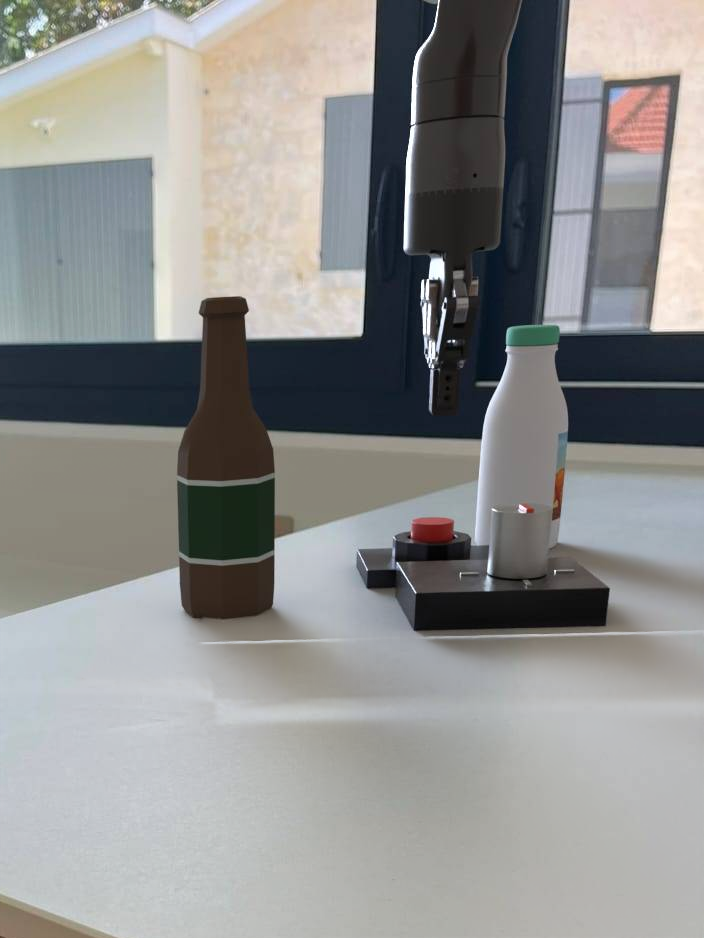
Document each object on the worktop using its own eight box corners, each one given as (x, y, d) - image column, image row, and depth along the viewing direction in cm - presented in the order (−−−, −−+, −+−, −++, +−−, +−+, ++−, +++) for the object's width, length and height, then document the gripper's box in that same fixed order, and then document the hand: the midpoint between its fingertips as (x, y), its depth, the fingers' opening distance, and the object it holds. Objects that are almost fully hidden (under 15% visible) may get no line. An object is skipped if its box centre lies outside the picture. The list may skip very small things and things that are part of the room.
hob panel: (567, 592, 101) (571, 554, 100) (605, 627, 91) (610, 585, 90) (394, 597, 102) (396, 559, 101) (413, 632, 92) (415, 590, 91)
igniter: (488, 563, 112) (491, 525, 111) (509, 585, 104) (513, 544, 103) (356, 567, 114) (357, 529, 112) (366, 589, 105) (368, 549, 104)
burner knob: (481, 568, 97) (486, 500, 95) (537, 565, 97) (543, 498, 95) (495, 580, 93) (500, 510, 91) (553, 578, 93) (560, 507, 91)
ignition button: (449, 536, 109) (450, 516, 108) (456, 544, 106) (457, 523, 105) (408, 537, 109) (408, 517, 109) (413, 545, 106) (414, 525, 105)
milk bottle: (536, 557, 114) (556, 327, 106) (459, 549, 119) (474, 328, 111) (571, 542, 119) (593, 322, 111) (496, 535, 124) (512, 323, 116)
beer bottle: (272, 621, 97) (273, 295, 88) (174, 621, 99) (165, 300, 89) (276, 597, 104) (277, 293, 95) (185, 598, 106) (178, 298, 96)
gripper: (521, 177, 91) (505, 420, 97) (485, 190, 103) (473, 405, 109) (418, 184, 91) (409, 425, 98) (394, 196, 103) (388, 409, 110)
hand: (443, 414), depth 104 cm, fingers closed
